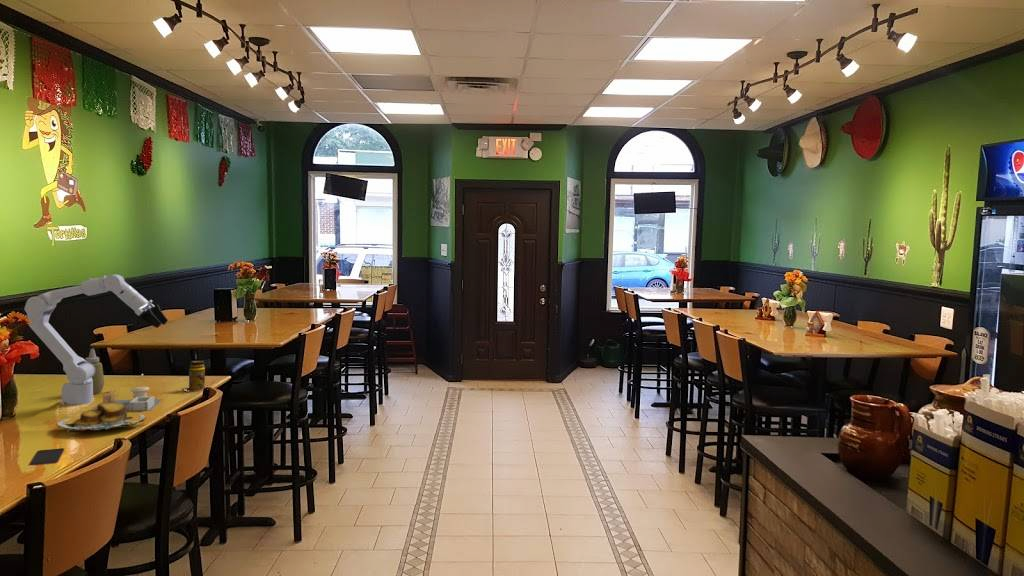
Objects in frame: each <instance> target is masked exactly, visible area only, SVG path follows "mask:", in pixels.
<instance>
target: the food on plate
mask: <svg viewBox="0 0 1024 576" xmlns="http://www.w3.org/2000/svg"><path fill="white" fill-rule="evenodd" d="M97 405H98V407H97V409H94V410H92V409H91V410H86V411H82V413H81V414H80V418H77V419H75V420H74V422H73V423H66V422H68V421H70V420H71V419H72V418H65V419H62V420H61V421H58V422H57V423H56V424H55V426H56V428H59V427H61V428H65V429H68V430H67V433H68V432H70V430H71V431H88V430H90V431H100V430H103V429H105V430H109V429H111V428H113V427H120V426H122V427H126V426H129V425H132V424H137V423H139V422H142V421H143V422H144V421H145V420H146V418H147V416H146V415H145V414H141V413H138V414H137V415H139V416H140V419H138V420H135V421H128V420H132V419H133V416H127V415H128V411H127V409H126V406H125V405H124V404H122V403H116V402H113V403H102V402H100V403H98V404H97ZM65 423H66V424H65Z"/></svg>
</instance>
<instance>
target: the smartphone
mask: <svg viewBox="0 0 1024 576" xmlns="http://www.w3.org/2000/svg"><path fill="white" fill-rule="evenodd" d="M64 451H65V448H60V447H59V448H52V449H51V448H50V449H41V450H37V451H36V452H35V454H34V456H33V457H32V459H31V461H29V463H28V466H29V465H34V466H43V465H51V464H52V465H54V464H58V463H59V462H60V460H61V458H62V456H63V454H64Z"/></svg>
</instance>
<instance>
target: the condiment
mask: <svg viewBox="0 0 1024 576" xmlns="http://www.w3.org/2000/svg"><path fill="white" fill-rule="evenodd" d="M205 385H206V368H205V362H204V360H191V361H190V362H189V368H188V387H182V390H183V389H187V391H186V392H185V393H188V392H189V393H190V392H196V391H195V390H201V391H200V392H203V391H202V389H203V388H204V387H205V388H206V386H205ZM188 390H189V391H188Z"/></svg>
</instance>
